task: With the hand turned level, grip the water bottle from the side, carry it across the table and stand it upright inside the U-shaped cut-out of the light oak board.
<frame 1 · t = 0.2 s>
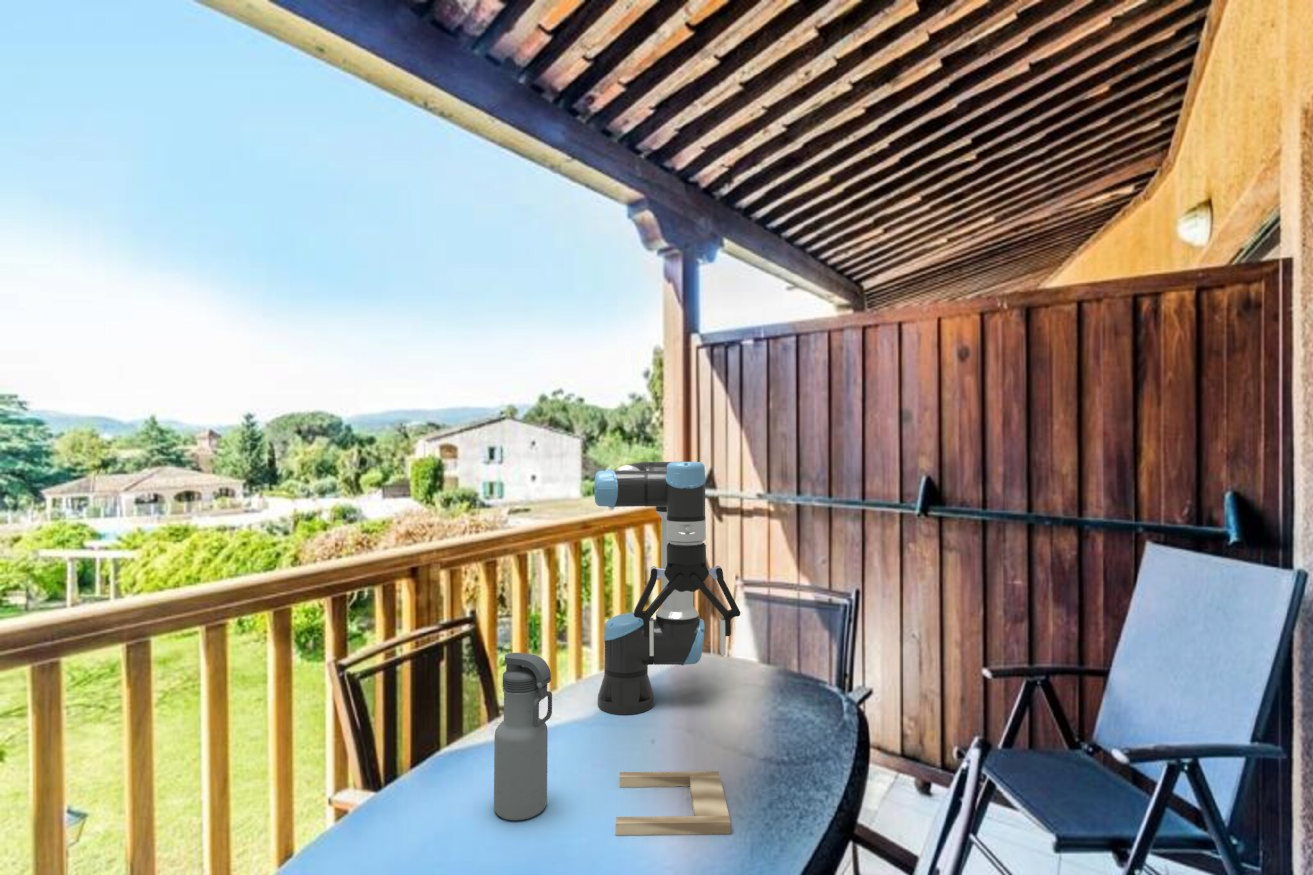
hand: (687, 653, 120), 28 cm above the table, tool pointing down, fingers open, 13 cm apart
water bottle: (521, 808, 117), on the table
oak cut-out board: (671, 806, 118), on the table
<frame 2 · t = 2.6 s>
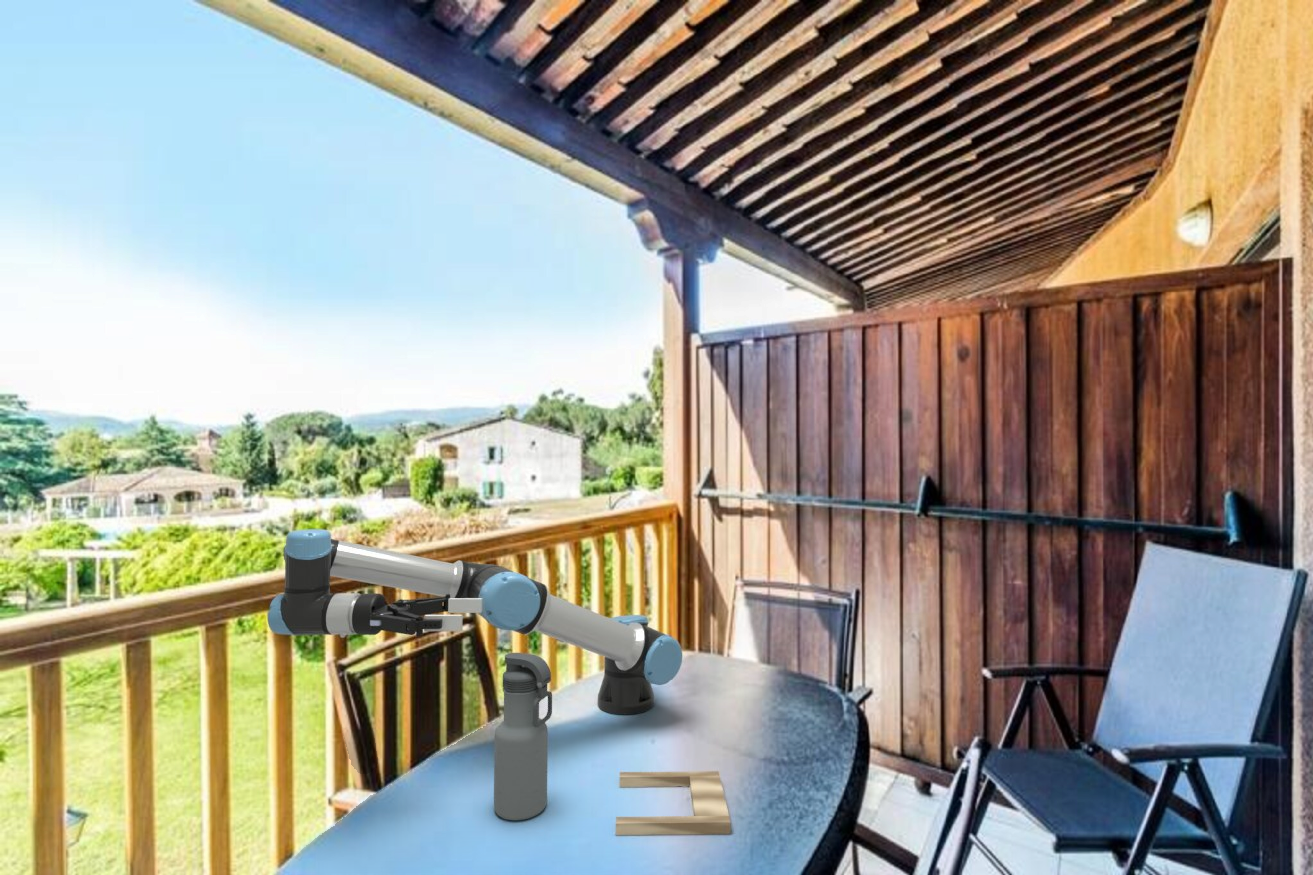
hand: (472, 613, 118), 36 cm above the table, tool horizontal, fingers open, 13 cm apart
nothing on the table moved.
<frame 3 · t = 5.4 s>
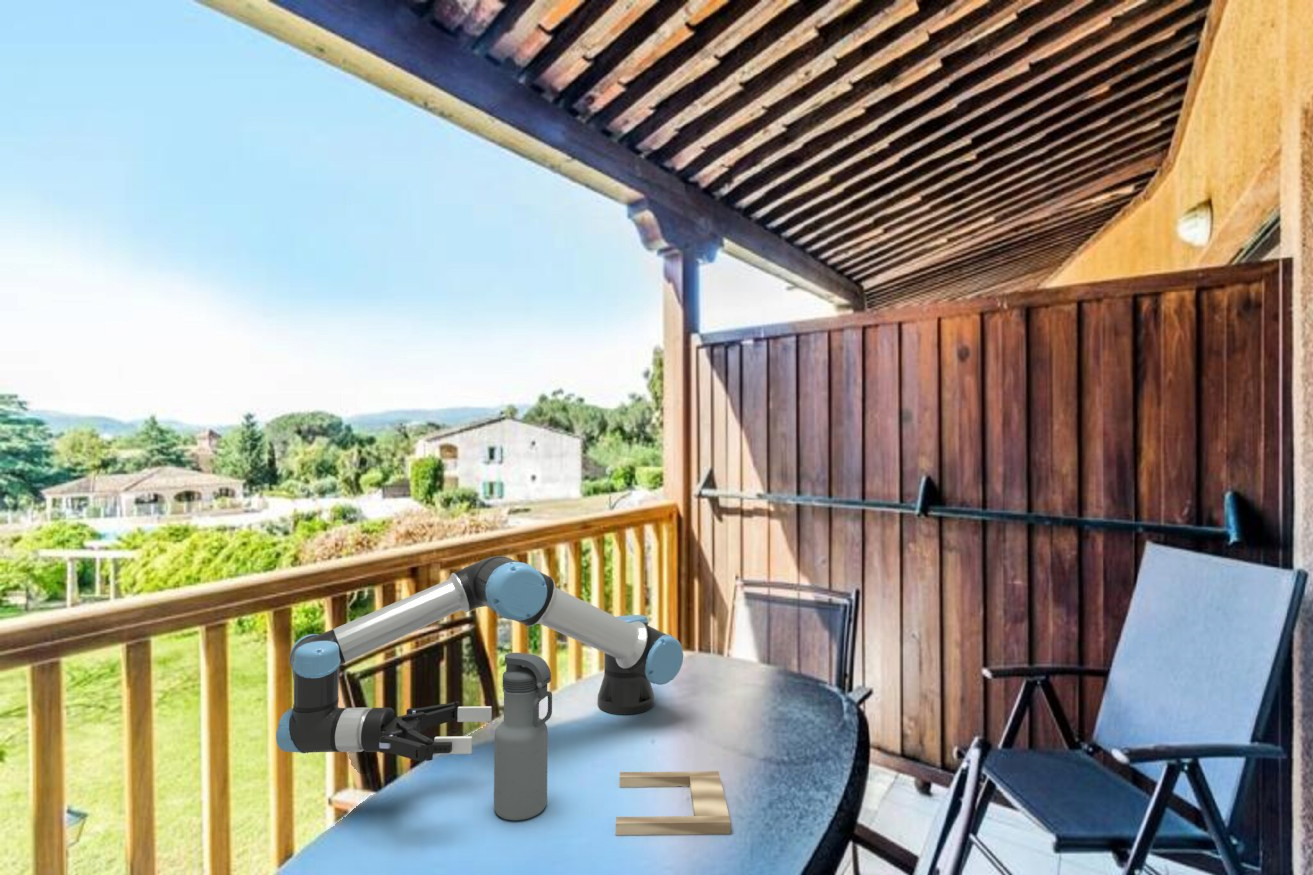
hand: (482, 728, 117), 15 cm above the table, tool horizontal, fingers open, 13 cm apart
nothing on the table moved.
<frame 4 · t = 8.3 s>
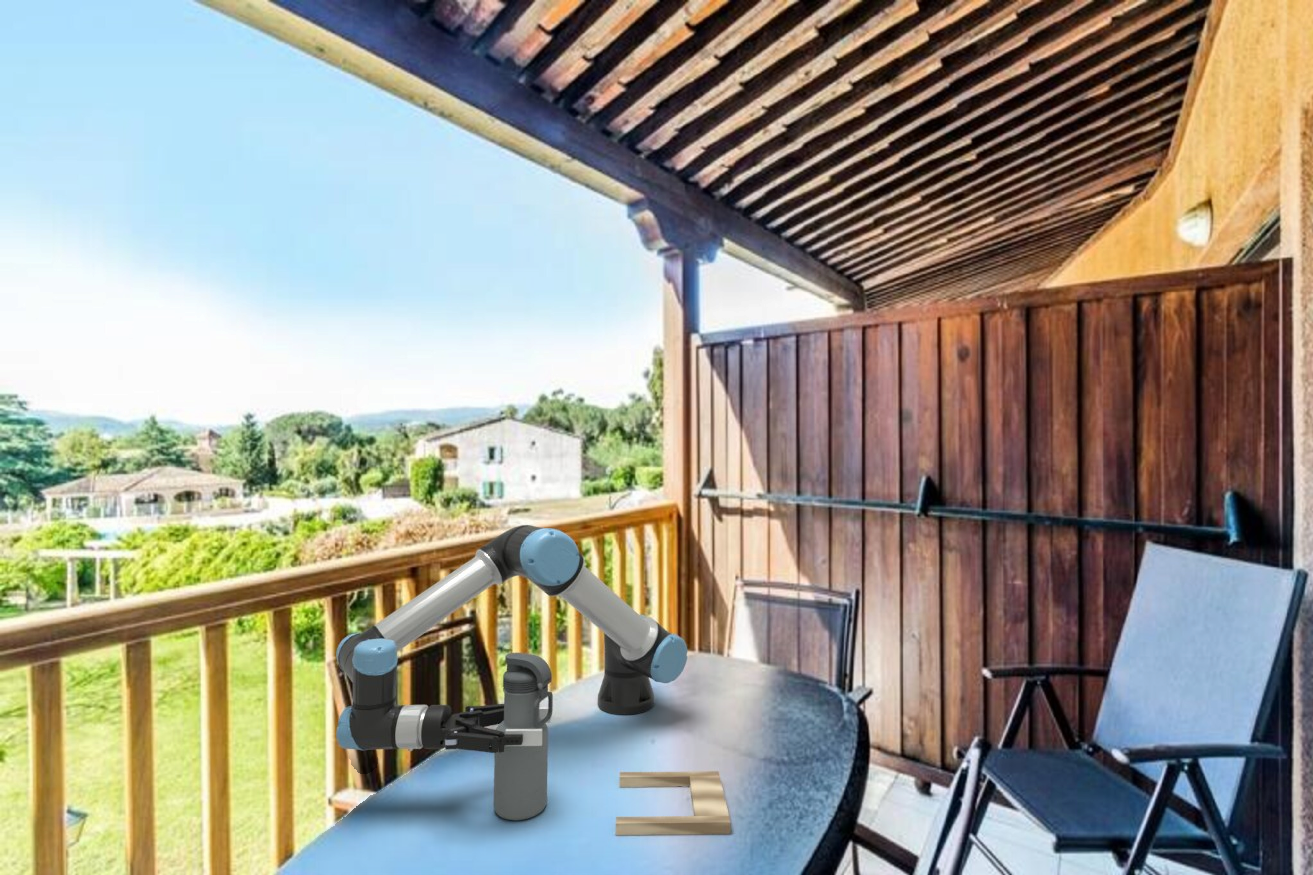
hand: (546, 725, 118), 15 cm above the table, tool horizontal, fingers closed on water bottle, 9 cm apart
water bottle: (521, 808, 117), on the table, touching gripper
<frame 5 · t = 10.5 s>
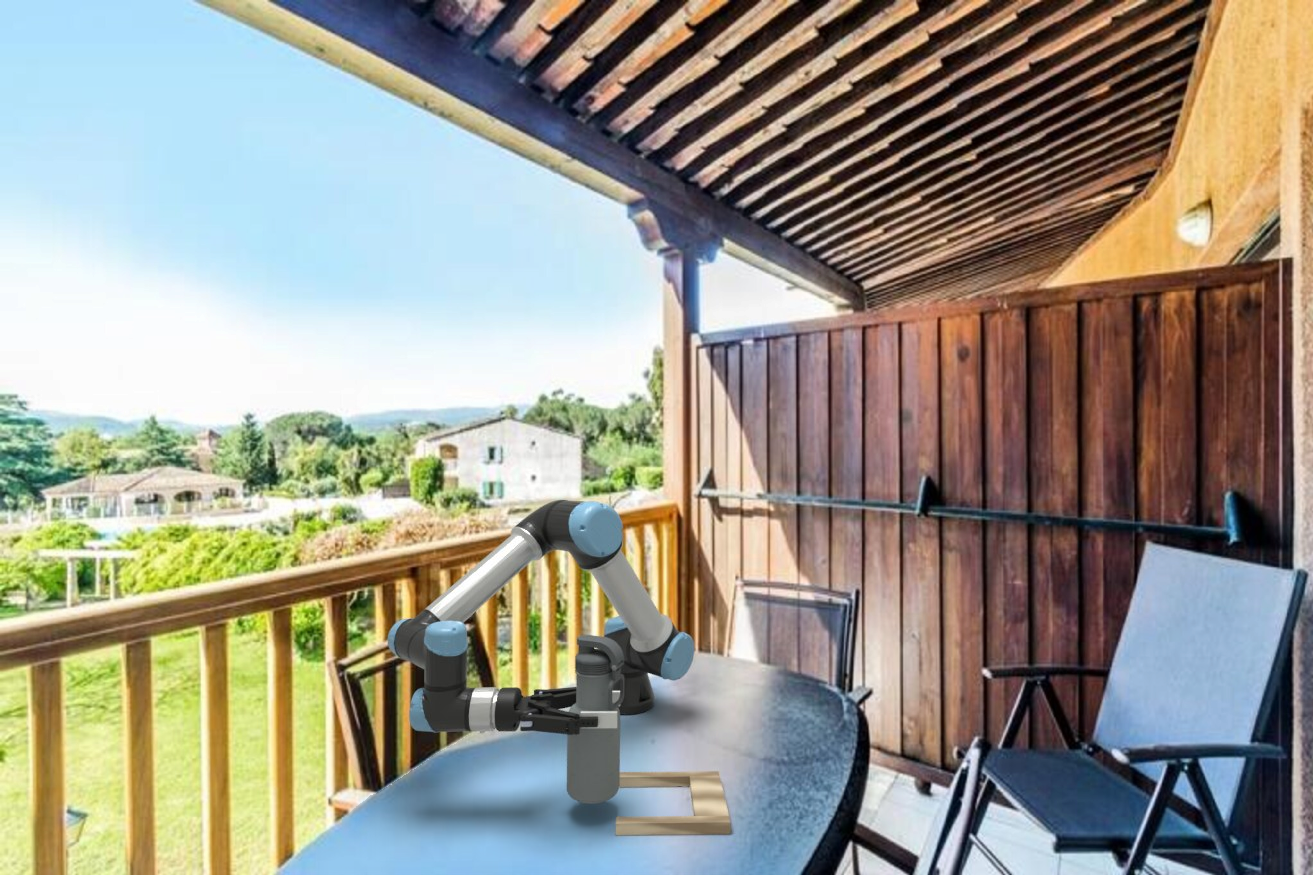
hand: (618, 708, 116), 19 cm above the table, tool horizontal, fingers closed on water bottle, 9 cm apart
water bottle: (594, 792, 116), point 4 cm above the table, touching gripper
when the fingers open (16 cm above the table, at t = 13.0 s): water bottle drops 1 cm, on the table.
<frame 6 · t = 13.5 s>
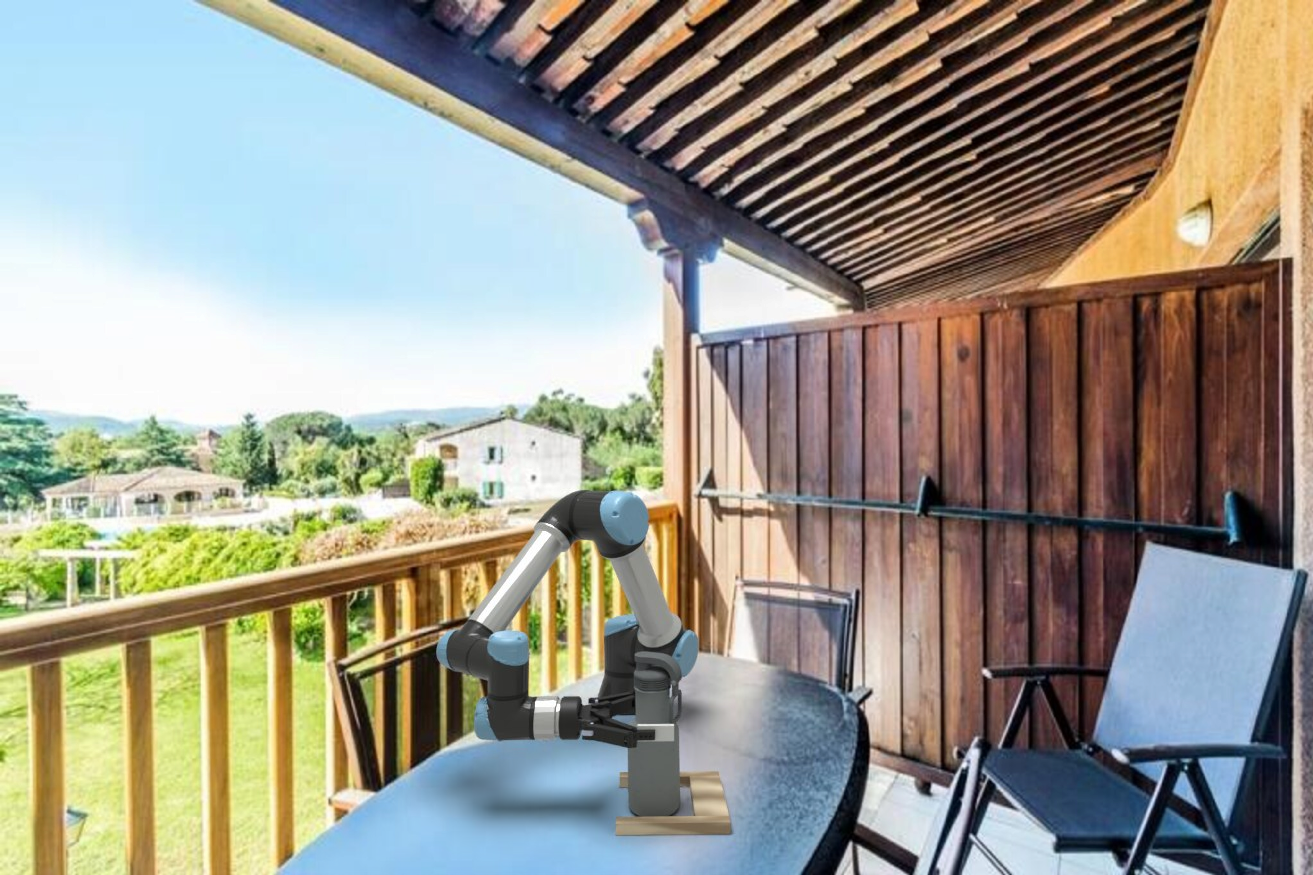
hand: (672, 716, 118), 16 cm above the table, tool horizontal, fingers open, 13 cm apart
water bottle: (655, 807, 118), on the table
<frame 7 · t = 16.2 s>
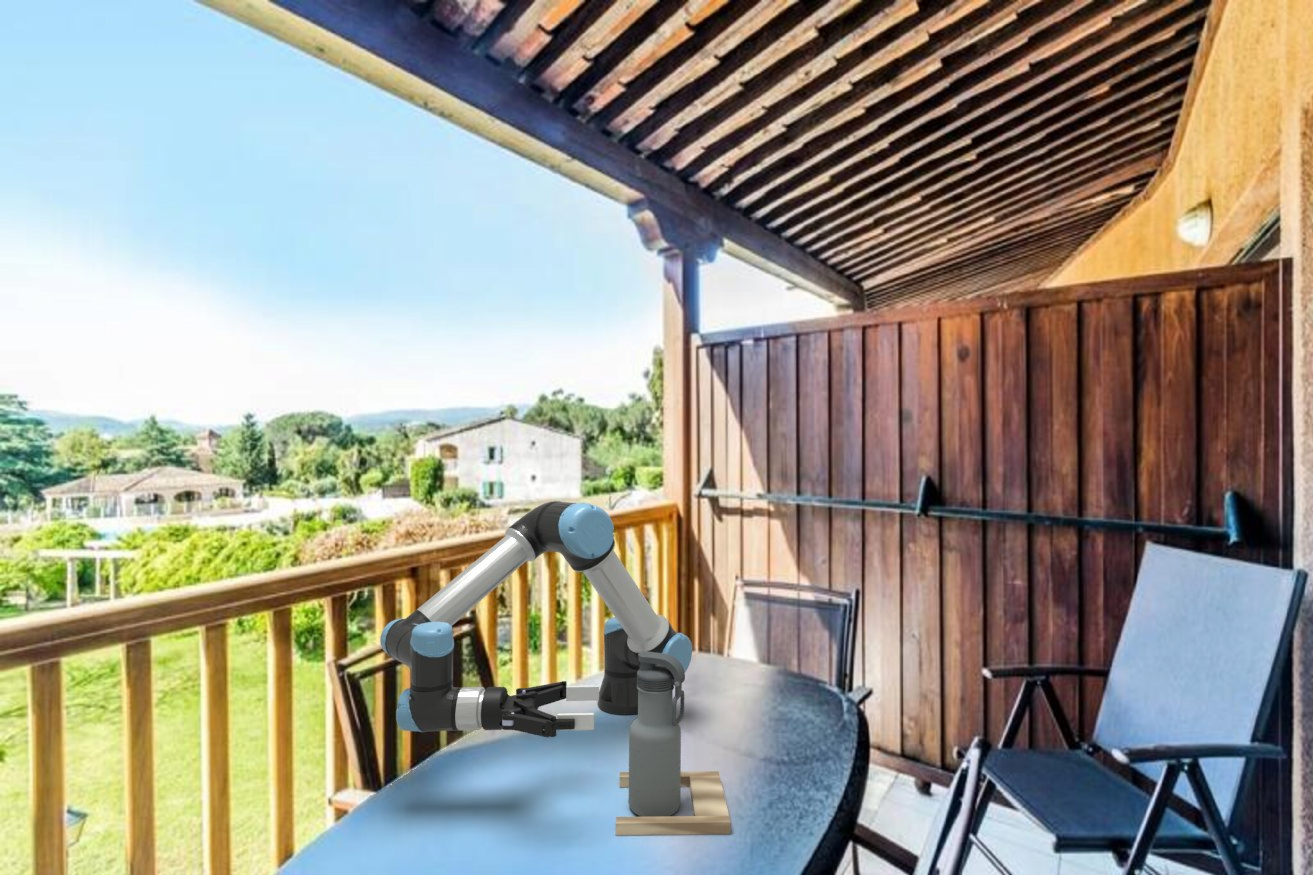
hand: (596, 706, 119), 18 cm above the table, tool horizontal, fingers open, 13 cm apart
nothing on the table moved.
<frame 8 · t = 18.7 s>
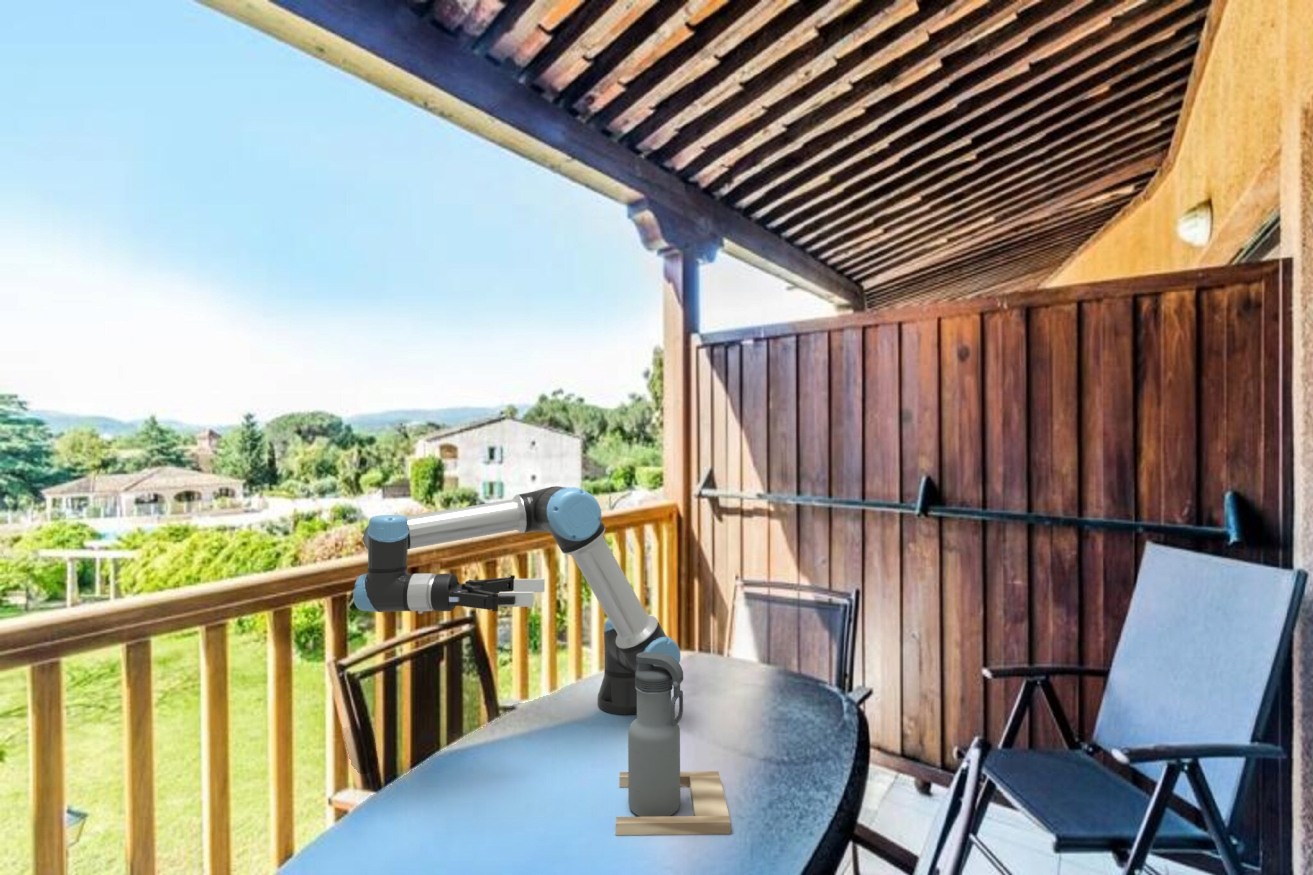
hand: (539, 591, 129), 38 cm above the table, tool horizontal, fingers open, 13 cm apart
nothing on the table moved.
at the end: water bottle inside the target area on the oak cut-out board (0.4 cm from its centre), point 0.0 cm above the oak cut-out board's base; water bottle tilted 0°; the gripper is holding nothing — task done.
